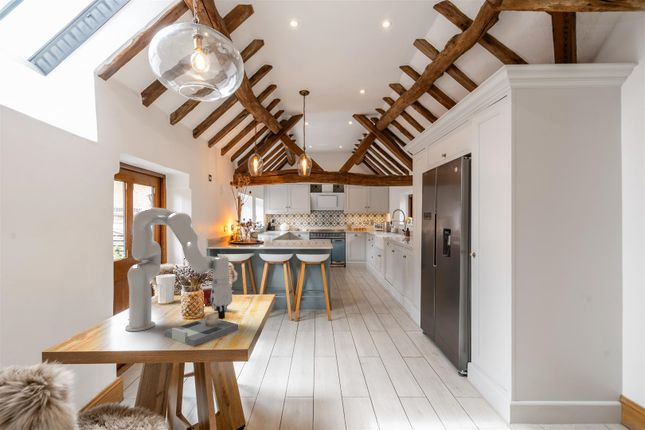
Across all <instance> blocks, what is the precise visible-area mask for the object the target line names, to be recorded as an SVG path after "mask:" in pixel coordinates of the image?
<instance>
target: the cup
mask: <svg viewBox="0 0 645 430" xmlns="http://www.w3.org/2000/svg"><path fill="white" fill-rule="evenodd" d="M176 276H177V275H176V274H174V273H173V274H172V273H167V274H158V275H157V276H156V277H155V284H156V286H157V287H156V289H157V304H158V305H169V303H170V304H172V302H173V303H174V301H175V283H176Z"/></svg>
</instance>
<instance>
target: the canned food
mask: <svg viewBox="0 0 645 430" xmlns="http://www.w3.org/2000/svg"><path fill="white" fill-rule="evenodd" d="M201 287H202V289H203V291H204V304H205V306H204V307H210V306H211V307H212V305H211V290H212V285H204V286H201Z"/></svg>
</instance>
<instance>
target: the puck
mask: <svg viewBox="0 0 645 430" xmlns="http://www.w3.org/2000/svg"><path fill="white" fill-rule="evenodd" d="M204 318H205V325H206V326H215V325H218V324H219V313H218V311H211V312H206V313H205V317H204Z"/></svg>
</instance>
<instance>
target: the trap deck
mask: <svg viewBox="0 0 645 430" xmlns="http://www.w3.org/2000/svg"><path fill="white" fill-rule="evenodd" d="M238 330H239V324H238V323H233V322H231V321H226V320H224V319H219V324H218V325H215V326H206V325H205V317H204V318H201V319H198V320H194V321H191V322H188V323H185V324H181V325H178V326H175V327H172V328H168V329H164V335H163V336H164V337H167V338H169V339H172V340H174V341H177V342H180V343H183V344H186V345H188V346H192V347H196V346H198V345H201V344H204V343H206V342H209V341H211V340H214V339H217V338H219V337H222V336H224V335H227V334H230V333H233V332H235V331H238Z"/></svg>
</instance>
